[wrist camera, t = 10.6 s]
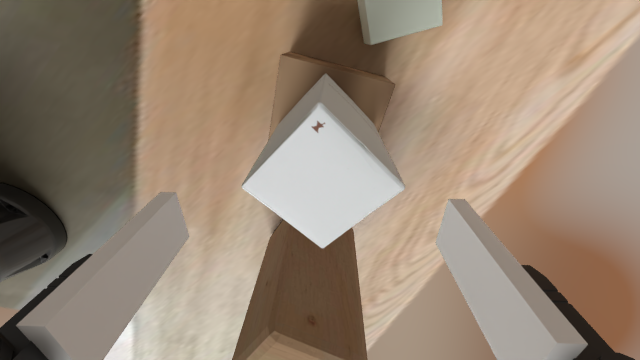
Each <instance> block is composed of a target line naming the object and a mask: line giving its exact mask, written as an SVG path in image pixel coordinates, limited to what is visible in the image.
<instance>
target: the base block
mask: <svg viewBox="0 0 640 360" xmlns="http://www.w3.org/2000/svg"><path fill="white" fill-rule="evenodd" d="M324 74H327V75H328V76H329V77H330V78H331V79H332V80H333V81H334V82H335V83H336V84H337V85H338V86H339V87H340V88H341V89H342V90H343V91H344V92H345V93H346V94H347V95H348V96H349V98H350V99H351V100H352V101H353V102H354V103H355V104H356V105H357V106H358V107H359V108H360V109H361V110H362V111H363V112H364V114H365V115H366V116H367V117H368V118H369V119H370V120H371V121H372V122H373V124H374V125H375V127H376V129H377V131H378V132H379V129H380V126H381V123H382V120H383V118H384V115H385V112H386V109H387V106H388V104H389V101H390V98H391V95H392V93H393V90H394V87H395V84H394V83H392V82H391V81H390V80H388V79H387V78H386V77H384V76H380V75H376V74H373V73H369V72H365V71H361V70H357V69H353V68H350V67H346V66H342V65H338V64H334V63H330V62H327V61H323V60H319V59H315V58H311V57H307V56H303V55H300V54H296V53H292V52H288V53H285V54H282V55H280V62H279V69H278V76H277V83H276V90H275V97H274V104H273V111H272V118H271V125H270V132H269V139H270V137H271V136H272V134H273V133H274V131H275V129H276V127H277V126H278V124H279V123H280V122H281V121H282V120H283V119H284V117H285V116H286V115H287V114H288V113H289V112H290V111H291V110H292V108H293V107H294V106H295V105H296V104H297V103H298V102H299V101H300V100H301V99H302V98H303V96H304V95H305V94H306V93H307V92H308V91H309V90H310V89H311V88H312V87H313V86H314V85H315V84H316V83H317V82H318V81H319V80H320V78H321V77H322V76H323V75H324ZM269 139H268V141H269Z"/></svg>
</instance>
